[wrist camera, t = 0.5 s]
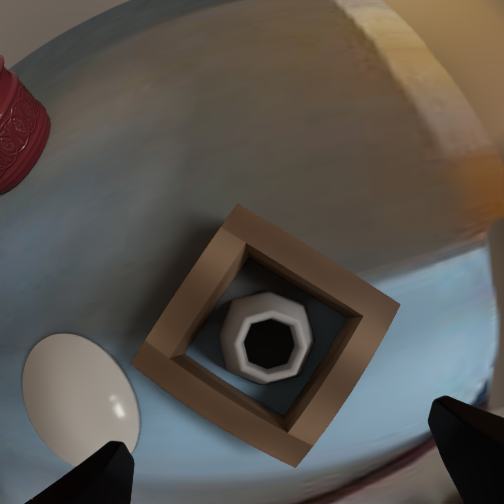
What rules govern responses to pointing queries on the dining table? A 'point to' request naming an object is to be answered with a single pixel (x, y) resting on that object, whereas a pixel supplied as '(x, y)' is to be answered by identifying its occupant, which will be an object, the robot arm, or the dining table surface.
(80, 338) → the ceramic plate
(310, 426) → the walnut collar
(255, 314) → the flask
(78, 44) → the dining table surface
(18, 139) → the canister
